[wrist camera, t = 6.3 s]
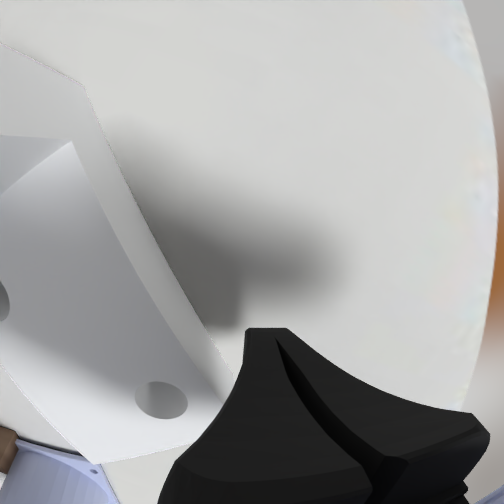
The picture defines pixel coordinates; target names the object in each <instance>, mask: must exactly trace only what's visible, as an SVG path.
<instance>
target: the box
mask: <svg viewBox="0 0 504 504" xmlns="http://www.w3.org/2000/svg"><path fill="white" fill-rule="evenodd" d="M16 439H19V437H18V436H17V434H16V432H15V431H13V430H10V429H7V428H4V427H1V426H0V472H2V473H4V474H8V472H9V469H10V467H11V465H12V463H13V461H14V458H15V456H16V454H17V452H18V450H19V449H18V447H17V445H16V444H15V441H16ZM19 440H20V439H19Z"/></svg>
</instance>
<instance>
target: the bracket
mask: <svg viewBox="0 0 504 504" xmlns="http://www.w3.org/2000/svg"><path fill="white" fill-rule="evenodd" d="M0 365H1V366H2V367H3V369H4V370H5V371H6V373H7V374H8V375H9V377H10V378H11V379H12V381H13V382H14V383H15V384H16V386H17V387H18V388H19V389H20V391H21V392H22V393H23V394H24V395H25V397H26V398H27V399H28V400H29V401H30V402H31V404H32V405H33V406H34V407H35V408H36V409H37V410H38V411H39V413H40V414H41V415H42V416H43V417H44V418H45V419H46V420H47V421H48V422H49V423H50V424H51V425H52V426H53V427H54V428H55V430H56V431H57V432H58V433H59V434H60V435H61V436H62V437H64V438H65V439H66V440H67V441H68V442H69V443H70V444H71V445H72V446H73V447H74V448H75V449H76V450H77V451H78V452H79V453H81V454H82V455H83V456H84V457H85V458H86V459H87V460H88V461H90V462H91V463H92V464H93V465H95V464H101V463H107V462H113V461H118V460H124V459H129V458H134V457H138V456H143V455H147V454H152V453H156V452H160V451H164V450H168V449H172V448H176V447H180V446H183V445H187V444H190V443H194V442H195V441H196V440H197V439H198V438H199V437H200V436H201V435H202V433H203V432H204V431H205V430H206V428H207V427H208V426H209V425H210V423H211V422H212V421H213V420H214V418H215V417H216V416H217V414H218V413H219V411H220V410H221V408H222V406H223V405H224V403H225V401H226V400H227V398H228V396H229V394H230V393H231V391H232V389H233V387H234V384H235V382H234V375H233V372H232V371H231V369H230V368H229V366H228V364H227V363H226V361H225V360H224V358H223V357H222V355H221V353H220V352H219V350H218V349H217V347H216V345H215V344H214V342H213V340H212V339H211V337H210V336H209V334H208V332H207V331H206V329H205V327H204V326H203V324H202V322H201V321H200V319H199V317H198V316H197V314H196V312H195V311H194V309H193V307H192V305H191V304H190V302H189V300H188V298H187V297H186V295H185V293H184V292H183V290H182V288H181V286H180V284H179V283H178V281H177V279H176V277H175V276H174V274H173V272H172V270H171V268H170V266H169V265H168V263H167V261H166V259H165V257H164V255H163V254H162V252H161V250H160V248H159V246H158V244H157V242H156V240H155V239H154V237H153V235H152V233H151V231H150V229H149V227H148V225H147V223H146V221H145V219H144V217H143V215H142V213H141V211H140V209H139V207H138V205H137V203H136V201H135V199H134V197H133V195H132V193H131V191H130V189H129V187H128V185H127V183H126V181H125V179H124V176H123V174H122V172H121V170H120V168H119V166H118V164H117V161H116V159H115V157H114V155H113V153H112V150H111V148H110V146H109V144H108V142H107V139H106V137H105V135H104V132H103V130H102V128H101V125H100V123H99V121H98V118H97V116H96V114H95V111H94V109H93V106H92V104H91V102H90V99H89V97H88V94H87V92H86V89H85V86H83V85H81V84H80V83H78V82H76V81H74V80H72V79H70V78H69V77H67V76H65V75H63V74H61V73H59V72H57V71H55V70H54V69H52V68H50V67H48V66H46V65H44V64H42V63H40V62H38V61H36V60H34V59H32V58H30V57H28V56H26V55H24V54H22V53H20V52H18V51H16V50H14V49H12V48H10V47H8V46H6V45H4V44H2V43H0Z"/></svg>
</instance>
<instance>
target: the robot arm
mask: <svg viewBox="0 0 504 504" xmlns="http://www.w3.org/2000/svg"><path fill="white" fill-rule="evenodd" d="M489 442H490V433H489V432H488V431H487V430H486V429H485V428H484V426H483V425H482V424H481V423H480V422H479V421H478V420H477V418H476V417H475V416H474V415H473V414H472V413H465V412H458V411H452V410H445V409H439V408H434V407H430V406H426V405H422V404H419V403H415V402H412V401H408V400H405V399H402V398H400V397H397V396H394V395H392V394H389V393H386V392H384V391H382V390H379V389H377V388H375V387H373V386H371V385H369V384H367V383H365V382H363V381H361V380H359V379H357V378H355V377H353V376H352V375H350V374H348V373H347V372H345V371H344V370H342V369H340V368H339V367H337V366H336V365H334V364H333V363H331V362H330V361H329V360H327V359H326V358H324V357H323V356H322V355H320V354H319V353H318V352H316V351H315V350H314V349H312V348H311V347H310V346H309V345H307V344H306V343H305V342H304V341H302V340H301V339H300V338H299V337H297V336H296V335H295V334H294V333H292V332H291V331H290V330H289V329H287V328H248V329H247V330H246V331H245V340H244V352H243V364H242V367H241V369H240V372H239V375H238V378H237V380H236V382H235V384H234V387H233V389H232V391H231V393H230V394H229V396H228V398H227V400H226V401H225V403H224V405H223V406H222V408H221V410H220V411H219V413H218V414H217V416H216V417H215V418H214V420H213V421H212V422H211V423H210V425H209V426H208V427H207V428H206V430H205V431H204V432H203V433H202V435H201V436H200V437H199V438H198V439H197V440H196V441H195V442H194V443H193V444H192V445H191V446H190V447H189V448H188V449H187V450H186V451H185V452H184V453H183V454H182V455H181V456H180V457H179V458H178V459H177V460H175V462H174V464H173V466H172V468H171V470H170V472H169V474H168V476H167V479H166V481H165V483H164V485H163V488H162V490H161V493H160V496H159V499H158V503H157V504H469V503H468V501H467V499H466V498H465V496H464V494H465V493H466V492H467V491H468V487H467V486H466V484H465V483H464V481H463V480H464V479H465V477H467V475H468V474H469V473H470V472H471V470H472V469H473V468H474V467H475V465H476V464H477V463H478V461H479V460H480V459H481V457H482V456H483V454H484V453H485V451H486V449H487V447H488V445H489ZM15 444H16V445H17V447H18V449H19V450H18V452H17V454H16V456H15V458H14V461H13V463H12V465H11V467H10V469H9V472H8V474H7V475H6V478H5V480H4V482H3V485H2V487H1V490H0V504H119V502H118V500H117V498H116V496H115V494H114V492H113V490H112V488H111V486H110V484H109V482H108V480H107V478H106V476H105V473H104V471H103V469H102V467H101V465H100V464H95V465H93V464H92V463H91V462H90V461H88V460H87V459H86V458H85V457H82V456H78V455H73V454H69V453H65V452H61V451H57V450H53V449H49V448H45V447H42V446H38V445H35V444H32V443H28V442H25V441H22V440H19V439H16V441H15ZM474 504H504V485H502V486H501V487H499V488H498V489H496V490H495V491H493V492H492V493H490V494H489V495H487V496H486V497H484V498H483V499H481V500H479V501H478V502H476V503H474Z"/></svg>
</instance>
